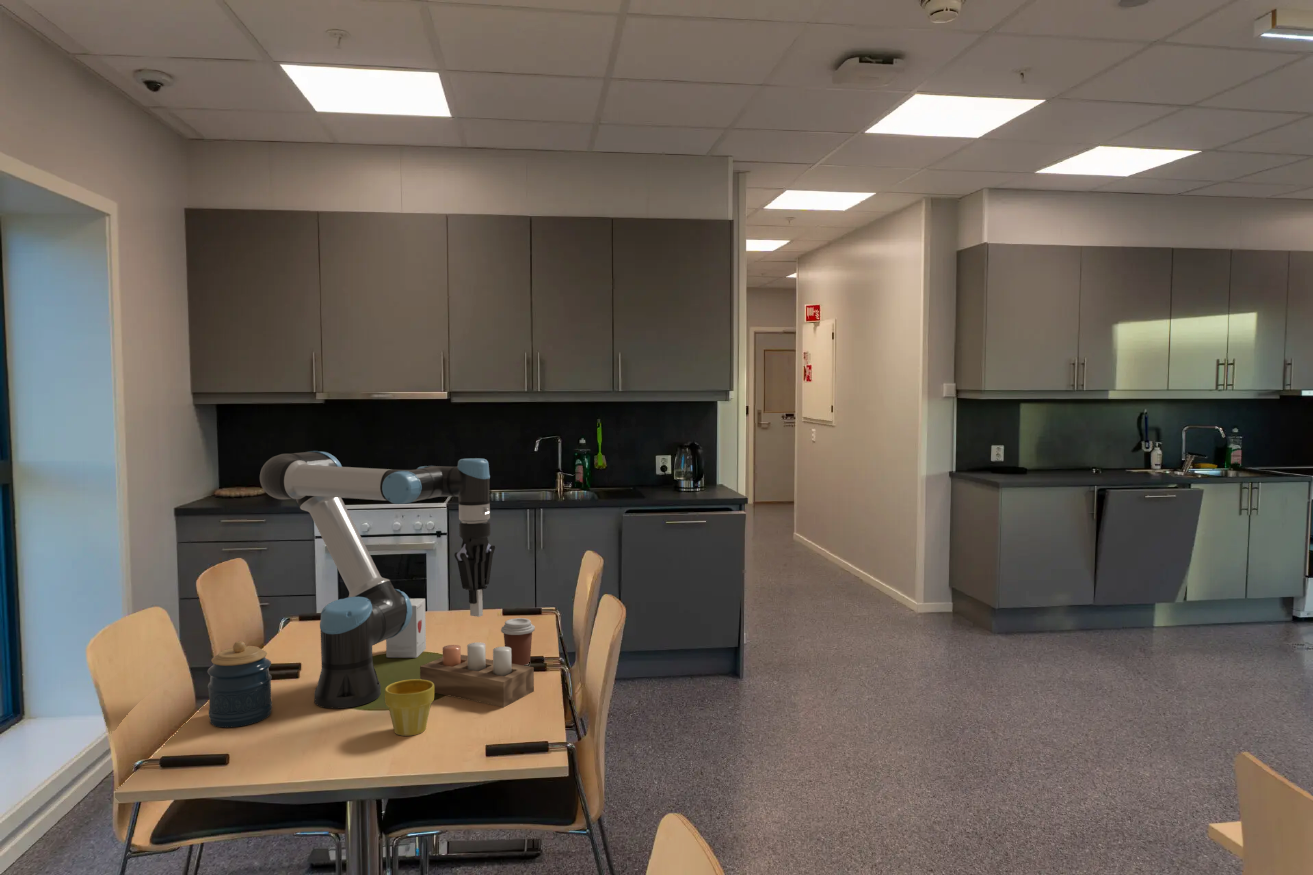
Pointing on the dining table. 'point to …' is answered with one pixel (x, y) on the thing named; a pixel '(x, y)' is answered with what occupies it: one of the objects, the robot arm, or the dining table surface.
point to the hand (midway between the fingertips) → (476, 615)
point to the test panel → (479, 682)
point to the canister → (239, 686)
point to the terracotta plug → (451, 655)
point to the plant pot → (409, 705)
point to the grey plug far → (502, 661)
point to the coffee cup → (518, 639)
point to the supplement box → (410, 634)
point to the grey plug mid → (476, 656)
